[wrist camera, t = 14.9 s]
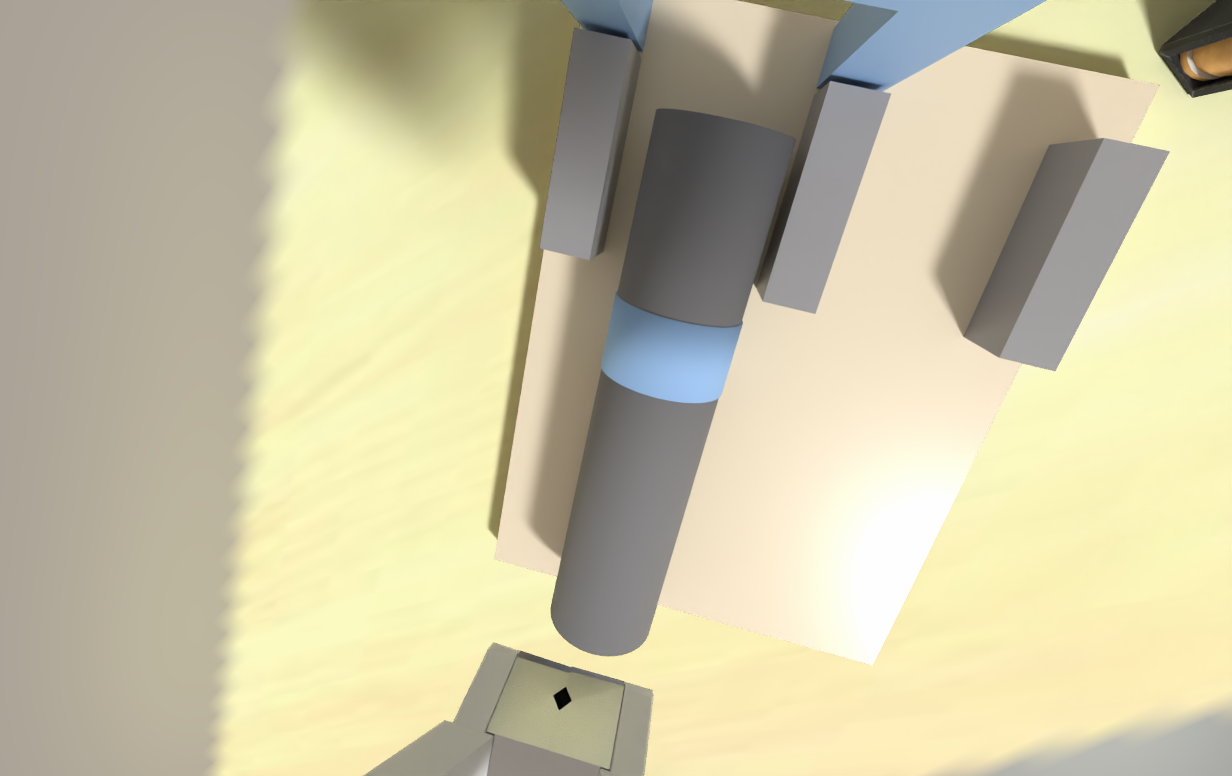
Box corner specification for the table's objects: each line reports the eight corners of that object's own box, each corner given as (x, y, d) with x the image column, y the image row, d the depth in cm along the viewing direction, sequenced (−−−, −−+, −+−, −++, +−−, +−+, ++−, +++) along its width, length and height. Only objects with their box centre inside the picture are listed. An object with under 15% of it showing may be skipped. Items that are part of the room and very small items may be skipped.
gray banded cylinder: (648, 114, 18) (662, 102, 14) (773, 143, 18) (819, 139, 14) (553, 572, 24) (544, 649, 20) (646, 586, 25) (656, 664, 21)
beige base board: (594, -19, 18) (569, -65, 15) (1134, 90, 17) (1237, 67, 14) (501, 545, 26) (472, 597, 23) (866, 647, 25) (890, 717, 21)
